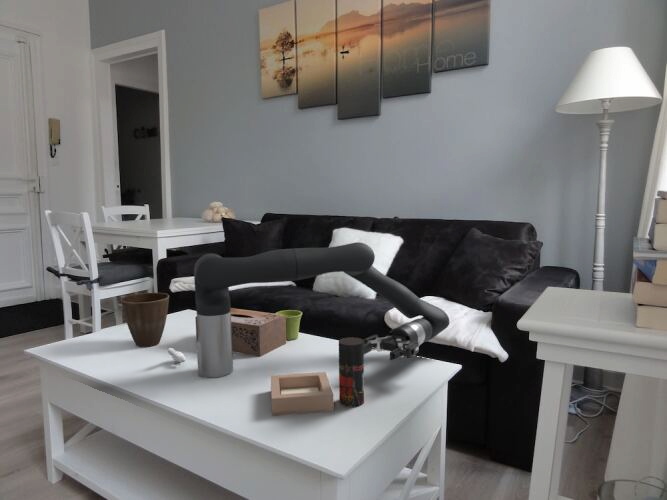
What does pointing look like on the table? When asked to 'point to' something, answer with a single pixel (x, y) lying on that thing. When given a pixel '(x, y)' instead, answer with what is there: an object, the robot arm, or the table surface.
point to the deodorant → (351, 372)
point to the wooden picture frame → (301, 393)
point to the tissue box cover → (256, 331)
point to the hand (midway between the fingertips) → (376, 353)
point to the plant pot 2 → (292, 323)
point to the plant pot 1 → (146, 317)
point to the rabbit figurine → (176, 355)
